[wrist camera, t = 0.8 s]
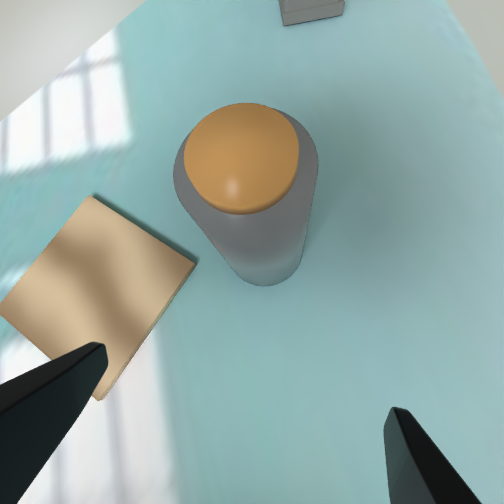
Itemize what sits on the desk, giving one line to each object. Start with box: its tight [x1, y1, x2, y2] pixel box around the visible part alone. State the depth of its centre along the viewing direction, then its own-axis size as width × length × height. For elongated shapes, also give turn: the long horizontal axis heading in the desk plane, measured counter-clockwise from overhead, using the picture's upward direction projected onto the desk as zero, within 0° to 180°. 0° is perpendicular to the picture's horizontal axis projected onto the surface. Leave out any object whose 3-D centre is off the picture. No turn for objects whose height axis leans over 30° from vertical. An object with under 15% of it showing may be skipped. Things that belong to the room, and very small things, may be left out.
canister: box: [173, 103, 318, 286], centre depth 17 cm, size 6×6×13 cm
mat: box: [0, 195, 196, 401], centre depth 24 cm, size 12×12×1 cm
